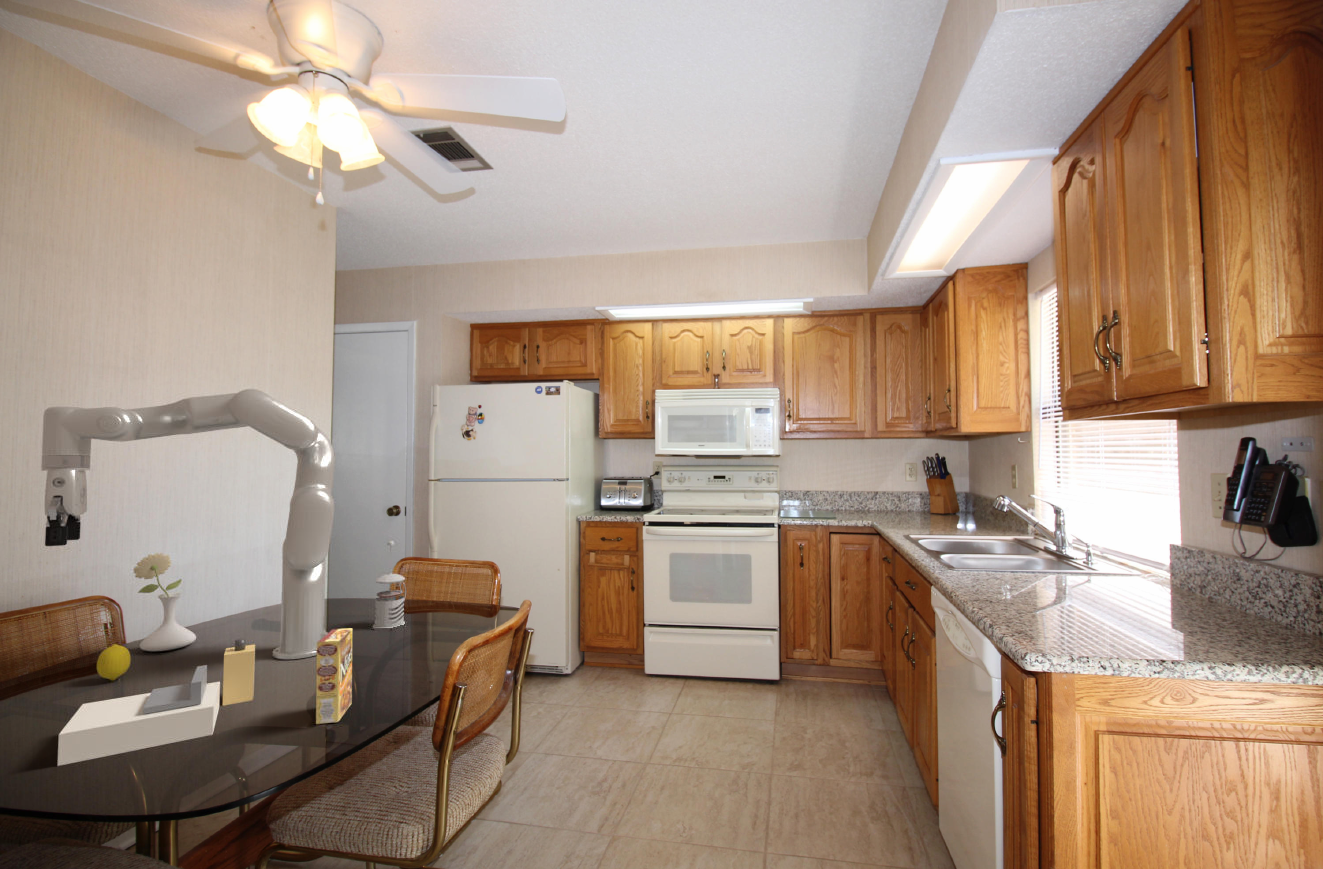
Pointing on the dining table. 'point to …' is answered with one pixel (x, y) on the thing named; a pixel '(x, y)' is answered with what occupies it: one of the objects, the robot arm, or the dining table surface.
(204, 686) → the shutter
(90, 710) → the socket
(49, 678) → the dining table surface
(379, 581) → the french press
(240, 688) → the plug
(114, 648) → the lemon
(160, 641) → the flower in vase
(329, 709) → the candy box
